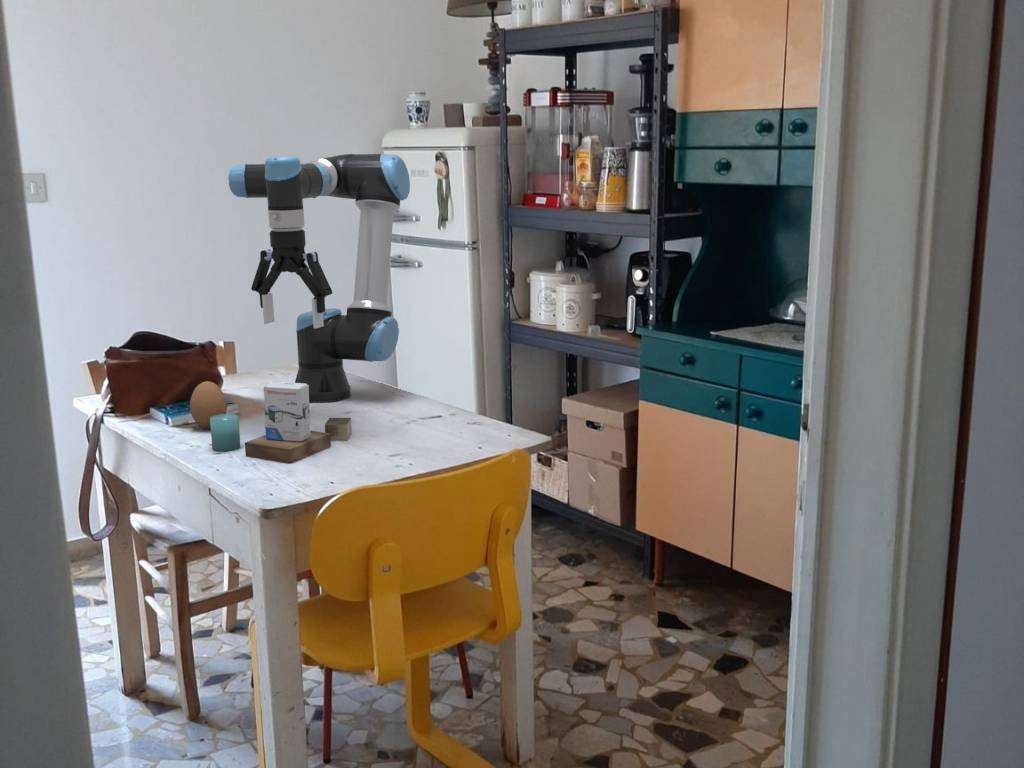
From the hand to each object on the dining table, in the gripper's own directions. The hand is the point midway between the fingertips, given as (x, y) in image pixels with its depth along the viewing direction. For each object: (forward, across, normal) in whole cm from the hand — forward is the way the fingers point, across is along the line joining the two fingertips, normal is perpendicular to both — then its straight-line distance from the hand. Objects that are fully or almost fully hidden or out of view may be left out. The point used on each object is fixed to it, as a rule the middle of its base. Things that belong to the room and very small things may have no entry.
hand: (293, 325), depth 219 cm
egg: (+26, -23, -4) cm, 35 cm away
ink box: (+22, +6, -12) cm, 26 cm away
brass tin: (+26, +9, +2) cm, 28 cm away
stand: (+25, +6, -12) cm, 28 cm away
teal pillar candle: (+25, -8, -16) cm, 31 cm away
